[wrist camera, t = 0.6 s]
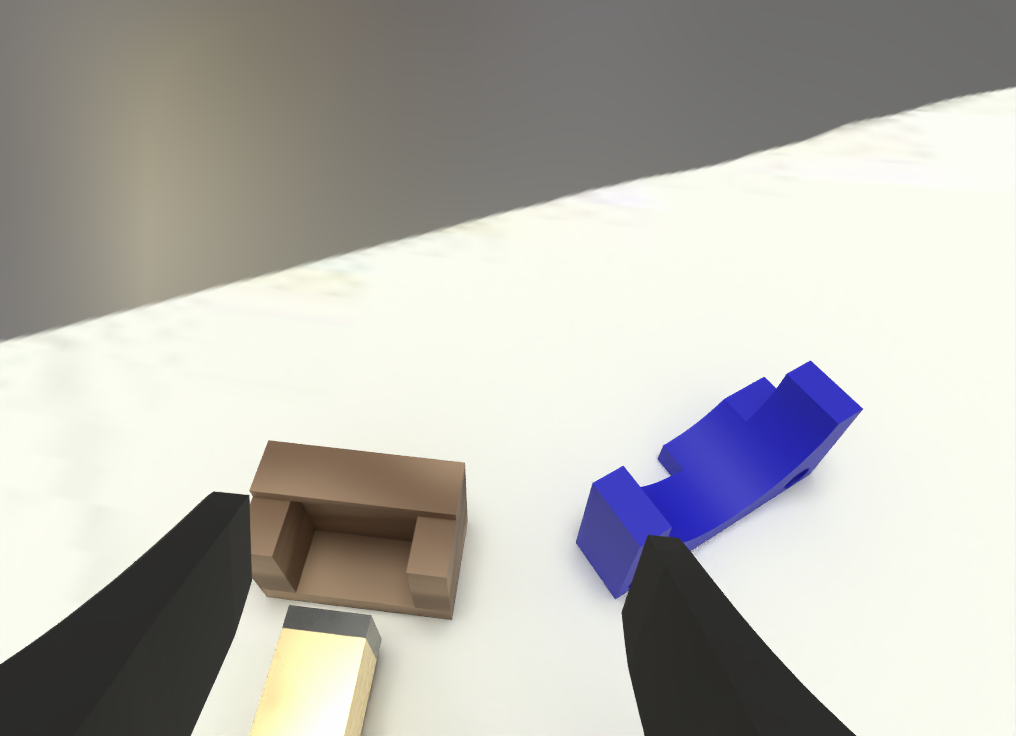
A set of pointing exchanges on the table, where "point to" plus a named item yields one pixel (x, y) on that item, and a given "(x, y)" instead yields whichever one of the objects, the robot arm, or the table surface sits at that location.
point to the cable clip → (716, 470)
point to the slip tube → (319, 675)
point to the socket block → (358, 528)
